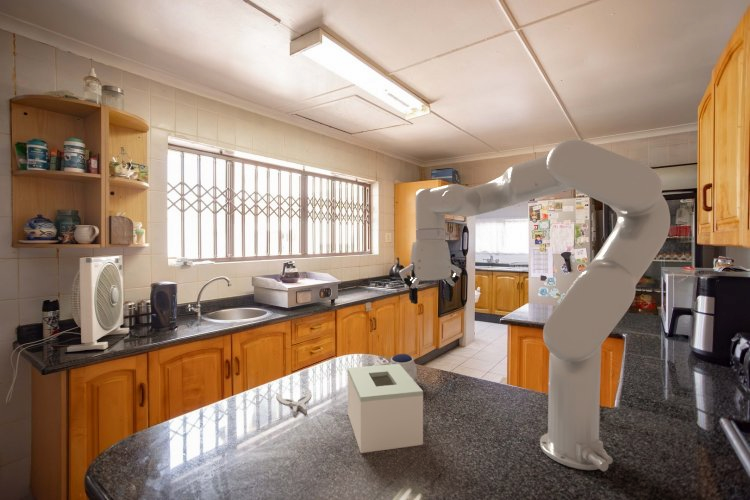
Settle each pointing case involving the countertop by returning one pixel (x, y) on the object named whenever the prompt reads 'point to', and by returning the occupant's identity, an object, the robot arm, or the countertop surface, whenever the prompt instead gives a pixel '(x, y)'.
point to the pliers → (294, 404)
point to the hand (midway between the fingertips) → (431, 302)
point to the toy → (401, 359)
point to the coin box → (384, 407)
